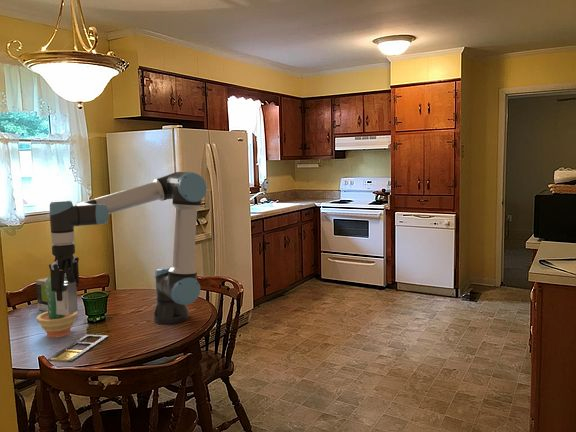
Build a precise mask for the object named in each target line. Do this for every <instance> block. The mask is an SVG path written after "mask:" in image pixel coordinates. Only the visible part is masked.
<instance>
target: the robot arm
mask: <svg viewBox="0 0 576 432" xmlns="http://www.w3.org/2000/svg"><path fill="white" fill-rule="evenodd" d="M207 188H208V187H207V183H206V181H205V179H204V178H203V176H201V175H200V174H198V173H197V172H193V171H175V172H172V173H170V174H167V175H165V176H160V177H158V178H155V179H154V180H153V181H152V182H150V183H146V184H142V185H139V186H136V187H135V186H134V187H132V188H127V189H125V190H121V191H117V192H113V193H110V194H107V195H103V196H99V197H95V198H92V199H89V200H86V201H81V200H80V201H78V202H75V203H74V204H73V201H72V200H70V199H67V200H66V199H65V200H52V201H51V202H50V203H49V223H50V237H51V238H50V239H51V244H52V245H51V253H52V255H53V256H54V260H53V261H54V262H53V263H50V264H49V265H48V268H49V271H50V272H49V273H50V274H51V290H52V291H54V292H56V295H57V302H58V309H63V310H65V309H66V301H65V291H63V287H64V277H65V275H66V277H67V281H71V282H76V288H77V287H79V284H80V273H79V271H80V270H79V260H80V258H79V257H77V256H76V257H75V256H74V254H75V253H76V244H75V227H80V226H81V227H83V226H96V225H97V226H99V225H103V224H107V223H108V222H109V215H110V214H115V213H118V212H121V211H124V210H125V211H126V210H128V209H132V208H134V207H138V206H141V205H145V204H149V203H152V202H155V201H160V202H162V201H163V202H164V201H166V200H172V204H171V205H173V207H175V220H174V221H175V222H174V235H173V236H174V237H173V253H172V255H173V256H172V266H165V267H160V268H156V270H155V274H154V275H155V276H154V280H155V292H156V294H155V296H156V305H155V308H154V312H153V322H154V323H156V324H160V325H161V324H162V325H172V324H177V323H178V324H179V323H182V322H185V321H186V320H189V317H190V313H189V310H188V306H187V305H190V304H192V303H194V302H195V301H196V300H197V299H198V298H199V296H200V293H201V284H200V283H199V281H198V280H197V277H198V270H197V269H196V268H195V250H196V235H197V234H196V232H197V219H198V216H197V215H198V209H200V208H201V207H202V200H203V198H204V197H205V196H206V194H207V190H208V189H207Z"/></svg>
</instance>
